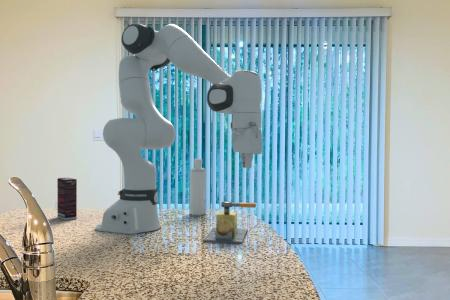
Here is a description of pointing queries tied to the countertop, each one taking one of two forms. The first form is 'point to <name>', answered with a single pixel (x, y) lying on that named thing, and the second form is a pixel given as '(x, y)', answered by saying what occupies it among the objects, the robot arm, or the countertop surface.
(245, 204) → the lever
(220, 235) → the valve
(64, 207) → the supplement box
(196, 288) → the countertop surface
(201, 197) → the grey bottle
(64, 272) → the countertop surface
